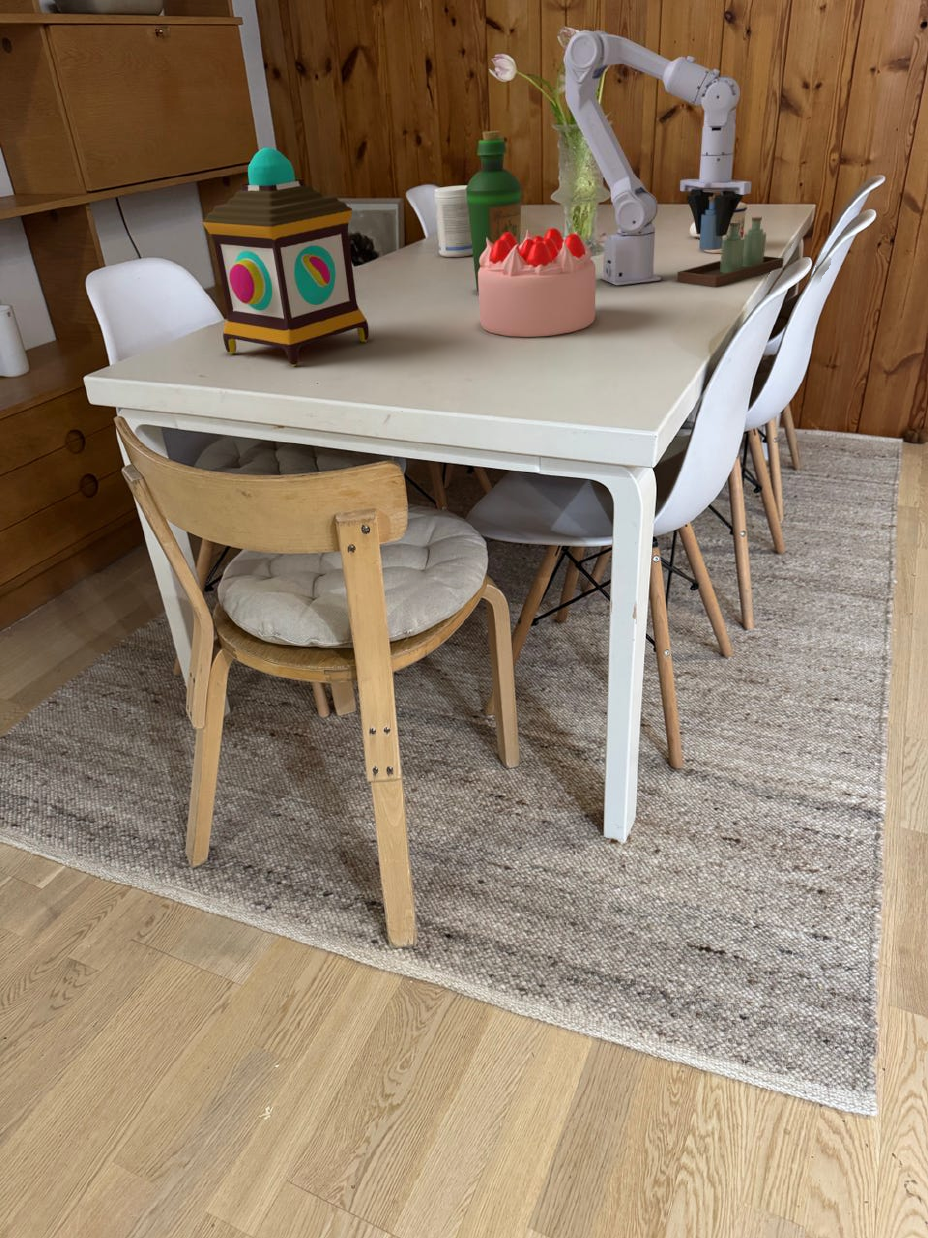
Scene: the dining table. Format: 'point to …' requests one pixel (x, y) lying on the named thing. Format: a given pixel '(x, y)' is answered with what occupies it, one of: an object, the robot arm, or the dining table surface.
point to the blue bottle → (710, 228)
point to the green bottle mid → (732, 250)
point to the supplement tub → (453, 221)
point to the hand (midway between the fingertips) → (711, 234)
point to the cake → (536, 285)
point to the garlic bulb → (694, 231)
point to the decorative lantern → (284, 261)
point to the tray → (714, 277)
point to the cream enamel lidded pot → (737, 217)
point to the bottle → (492, 198)
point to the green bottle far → (754, 244)
